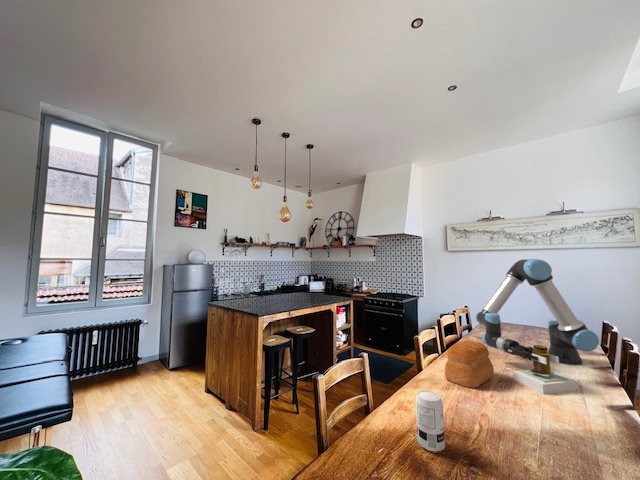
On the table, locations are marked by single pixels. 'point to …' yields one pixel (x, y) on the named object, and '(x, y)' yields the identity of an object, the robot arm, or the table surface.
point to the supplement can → (430, 421)
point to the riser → (545, 382)
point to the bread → (468, 364)
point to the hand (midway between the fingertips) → (552, 360)
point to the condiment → (538, 366)
